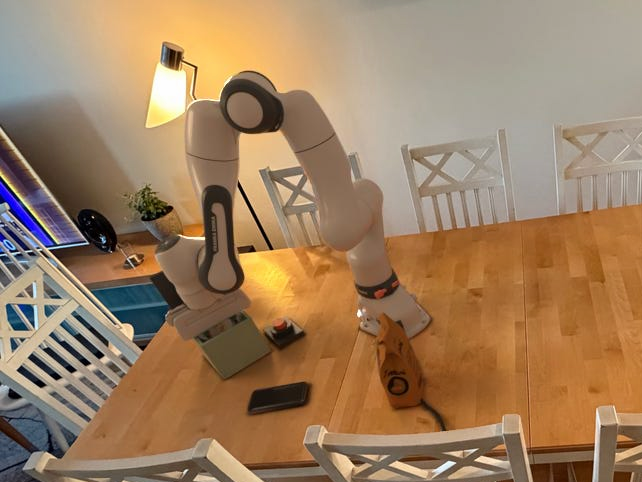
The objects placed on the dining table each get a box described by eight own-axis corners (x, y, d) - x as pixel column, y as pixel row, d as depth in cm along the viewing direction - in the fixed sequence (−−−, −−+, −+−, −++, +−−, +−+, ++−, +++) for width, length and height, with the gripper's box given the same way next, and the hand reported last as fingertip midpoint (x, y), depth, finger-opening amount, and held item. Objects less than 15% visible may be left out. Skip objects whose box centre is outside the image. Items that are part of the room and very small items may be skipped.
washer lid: (204, 252, 136) (197, 244, 138) (149, 278, 129) (143, 270, 131) (229, 296, 149) (222, 289, 151) (180, 322, 142) (173, 314, 144)
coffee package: (385, 413, 125) (359, 348, 110) (388, 377, 134) (364, 313, 119) (425, 407, 125) (404, 341, 110) (425, 371, 134) (405, 306, 119)
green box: (271, 351, 149) (251, 317, 140) (224, 379, 142) (200, 346, 134) (248, 329, 158) (229, 297, 149) (204, 355, 152) (180, 323, 143)
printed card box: (224, 345, 148) (207, 319, 141) (247, 341, 148) (230, 314, 141) (221, 353, 145) (203, 327, 138) (244, 349, 145) (227, 322, 138)
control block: (304, 334, 152) (300, 326, 150) (281, 349, 149) (276, 340, 147) (288, 320, 159) (283, 311, 156) (265, 333, 155) (260, 325, 153)
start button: (288, 325, 151) (286, 321, 150) (278, 332, 150) (275, 327, 149) (283, 321, 154) (280, 316, 152) (272, 327, 152) (270, 322, 151)
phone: (303, 402, 130) (246, 411, 130) (304, 405, 131) (248, 414, 131) (307, 380, 136) (253, 389, 136) (309, 383, 136) (254, 392, 137)
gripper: (165, 319, 127) (194, 358, 137) (240, 280, 136) (262, 319, 145) (157, 310, 131) (186, 348, 140) (230, 272, 139) (253, 311, 149)
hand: (225, 333), depth 143 cm, fingers closed on printed card box, 7 cm apart
